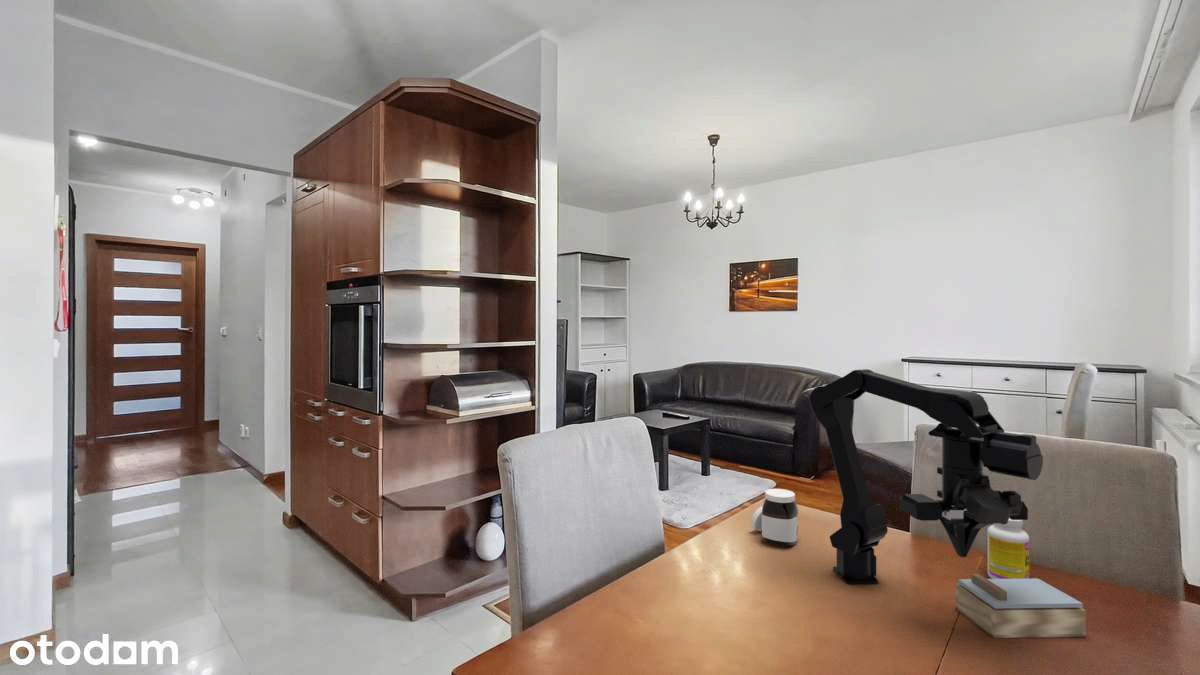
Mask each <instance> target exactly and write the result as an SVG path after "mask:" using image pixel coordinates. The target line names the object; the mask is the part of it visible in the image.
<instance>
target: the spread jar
mask: <svg viewBox="0 0 1200 675" xmlns="http://www.w3.org/2000/svg"><path fill="white" fill-rule="evenodd" d="M764 497H765V499H764V501H763V503H762V505H761V506H760V507H759V508H757V509H756V510H755V512H754V513H753V515H752V516H751V519H750V527H751V528H752V529H754V531H755V532H758V530H761V529H762V531H761V537H762V539H763V541H765V542H767V544H769V543H771V544H773V545H772V546H775V545H778V546H777V547H780V546H790V547H792V546H796V544H797V541H798V537H799V509H798V505H797V503H796V493H795V492H793V491H792V490H789V489H784V488H769V489H766V490H765V491H764ZM771 544H770V545H771Z"/></svg>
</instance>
